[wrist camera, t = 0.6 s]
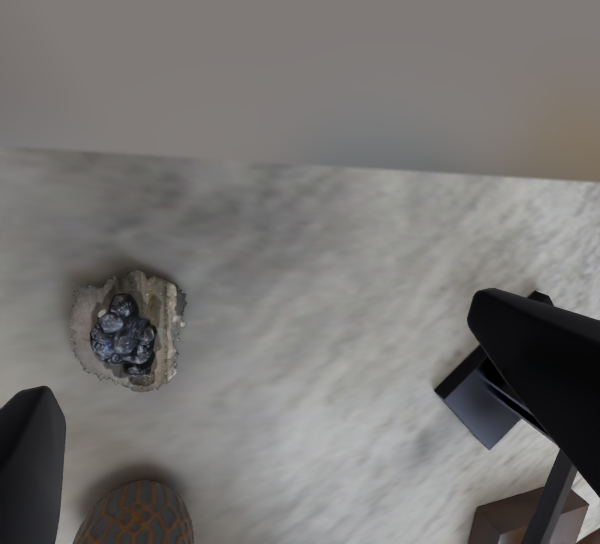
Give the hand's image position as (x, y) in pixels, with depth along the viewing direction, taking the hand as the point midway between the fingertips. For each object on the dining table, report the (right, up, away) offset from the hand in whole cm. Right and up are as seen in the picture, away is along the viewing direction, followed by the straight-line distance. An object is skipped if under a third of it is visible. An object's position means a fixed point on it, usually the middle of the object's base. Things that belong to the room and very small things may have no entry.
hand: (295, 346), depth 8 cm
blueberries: (-10, -2, +14) cm, 17 cm away
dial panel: (+24, -27, +33) cm, 49 cm away
